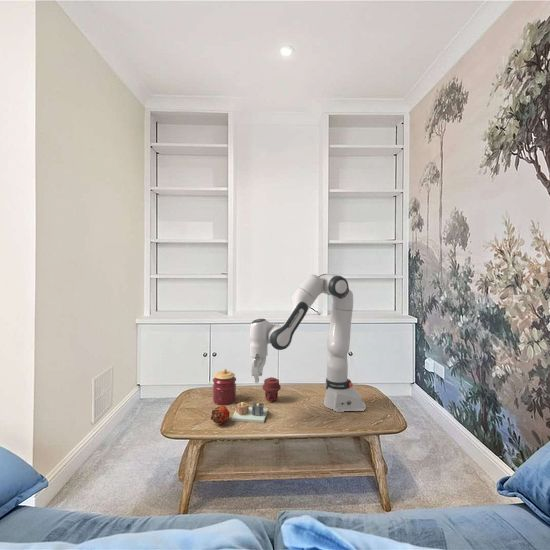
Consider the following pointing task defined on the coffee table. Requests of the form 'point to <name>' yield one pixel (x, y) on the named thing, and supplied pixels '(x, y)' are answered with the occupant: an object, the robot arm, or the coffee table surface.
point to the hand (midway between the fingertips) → (258, 378)
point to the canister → (224, 387)
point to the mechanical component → (271, 388)
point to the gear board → (247, 413)
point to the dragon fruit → (220, 415)
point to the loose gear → (257, 409)
